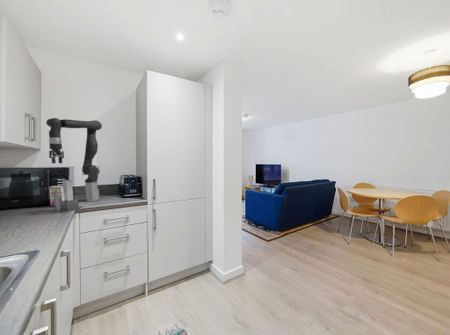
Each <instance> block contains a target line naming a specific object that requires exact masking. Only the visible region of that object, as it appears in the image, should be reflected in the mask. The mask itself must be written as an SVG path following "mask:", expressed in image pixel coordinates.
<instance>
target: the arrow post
mask: <svg viewBox="0 0 450 335" xmlns="http://www.w3.org/2000/svg"><path fill="white" fill-rule="evenodd" d="M61 194H62V192H61V193H59V191H54V199H55V206H54V210H56V211H55V213H56V214H58V213H61V212H60V200H59V195H61Z"/></svg>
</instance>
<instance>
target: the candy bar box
mask: <svg viewBox="0 0 450 335" xmlns="http://www.w3.org/2000/svg"><path fill="white" fill-rule="evenodd" d="M54 191H59V193H61V192H62V194H61V195H59V200H60V201H64V193H63V192H64V190H63V185H53V186H48V193H49V204H50V207H55V199H54Z"/></svg>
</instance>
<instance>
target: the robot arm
mask: <svg viewBox="0 0 450 335" xmlns="http://www.w3.org/2000/svg"><path fill="white" fill-rule="evenodd" d="M46 125H47V126H48V127H50V129H49V131H48V137H49V138H48V143H49V144H48V145H49V151H48V153H49V154H48V156H49V159H51V163H52V164H56V157H57V158H58V159H57V160H58V164H63V159H64V158H65V155H64V150H62V149H63V146H62V137H61V132H62V131H61V130H62V128H65V129H86V141H85V148H84V149H85V152H84V157H83V158H84V160H83V164H82V168H81V169H82V173H83V175H87V178H85V179H84V184H85V185H84V186H85V197H86V198H85V199H86V200H85V201H86V202H94V201H99V200H100V189H99V188H98V178H99V171H98V166H96V165H95V164H93V160H94V158H95V156H96V155H97V153H98V146H99V144H98V140H97V137H96V135H97V131H99V130H101V129H102V126H103V125H102V123H101V122H100V121H99V120H76V119H65V118H64V119H59V118H57V117H53V118H52V117H51V118H48V119H47V120H46Z"/></svg>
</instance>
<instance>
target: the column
mask: <svg viewBox="0 0 450 335" xmlns="http://www.w3.org/2000/svg"><path fill="white" fill-rule="evenodd" d="M73 181H74V180H73V179H66V180H62V181H61V182H62V185H61V186H63V190H64V192H63V193H64V201H71V200H73V199H74V191H73Z"/></svg>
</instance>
